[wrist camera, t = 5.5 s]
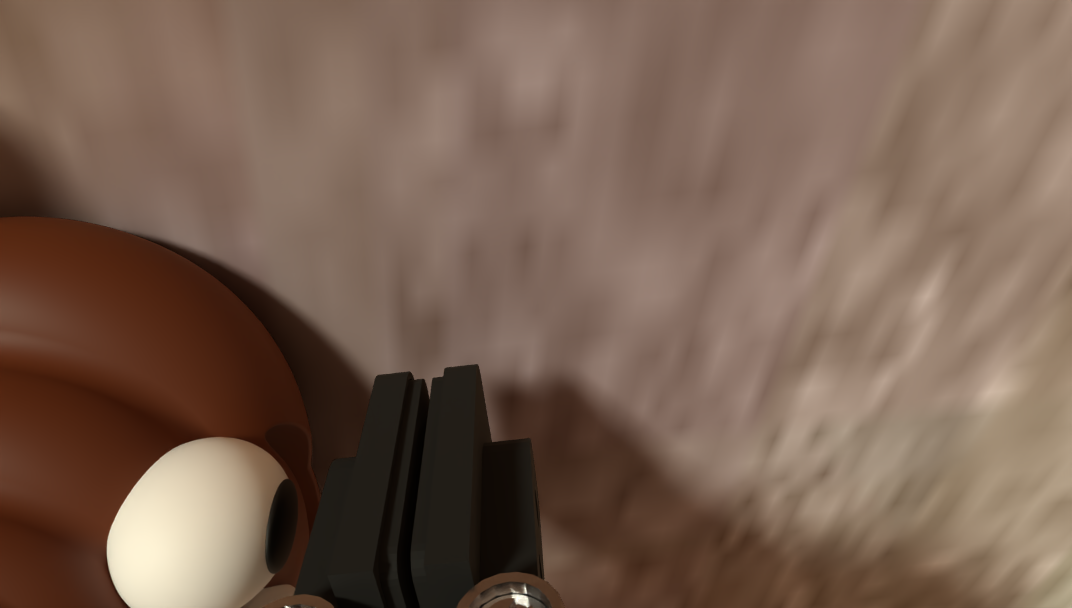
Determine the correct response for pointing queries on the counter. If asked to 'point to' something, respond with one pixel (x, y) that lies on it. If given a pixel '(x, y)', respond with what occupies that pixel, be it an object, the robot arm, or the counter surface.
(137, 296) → the poop emoji
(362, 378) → the counter surface
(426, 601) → the robot arm
